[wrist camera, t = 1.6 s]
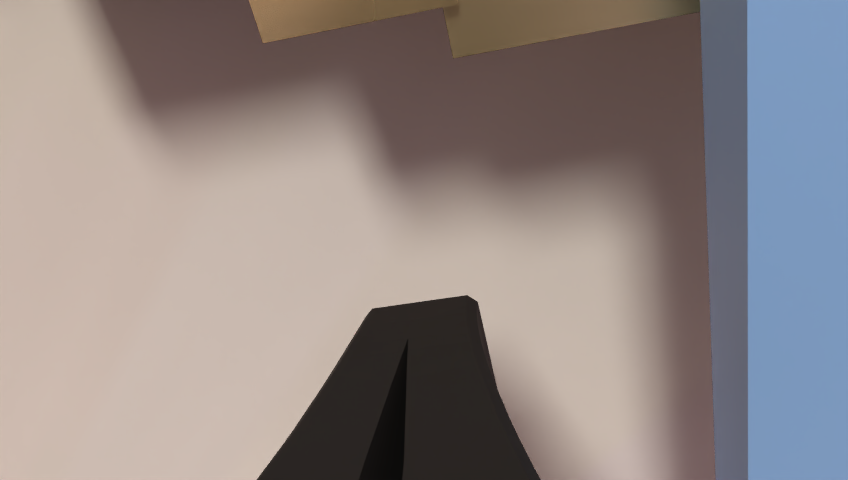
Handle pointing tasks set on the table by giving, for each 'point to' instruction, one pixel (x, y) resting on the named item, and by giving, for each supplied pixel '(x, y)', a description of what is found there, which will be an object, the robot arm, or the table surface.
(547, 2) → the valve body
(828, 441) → the lever
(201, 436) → the table surface
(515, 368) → the table surface
